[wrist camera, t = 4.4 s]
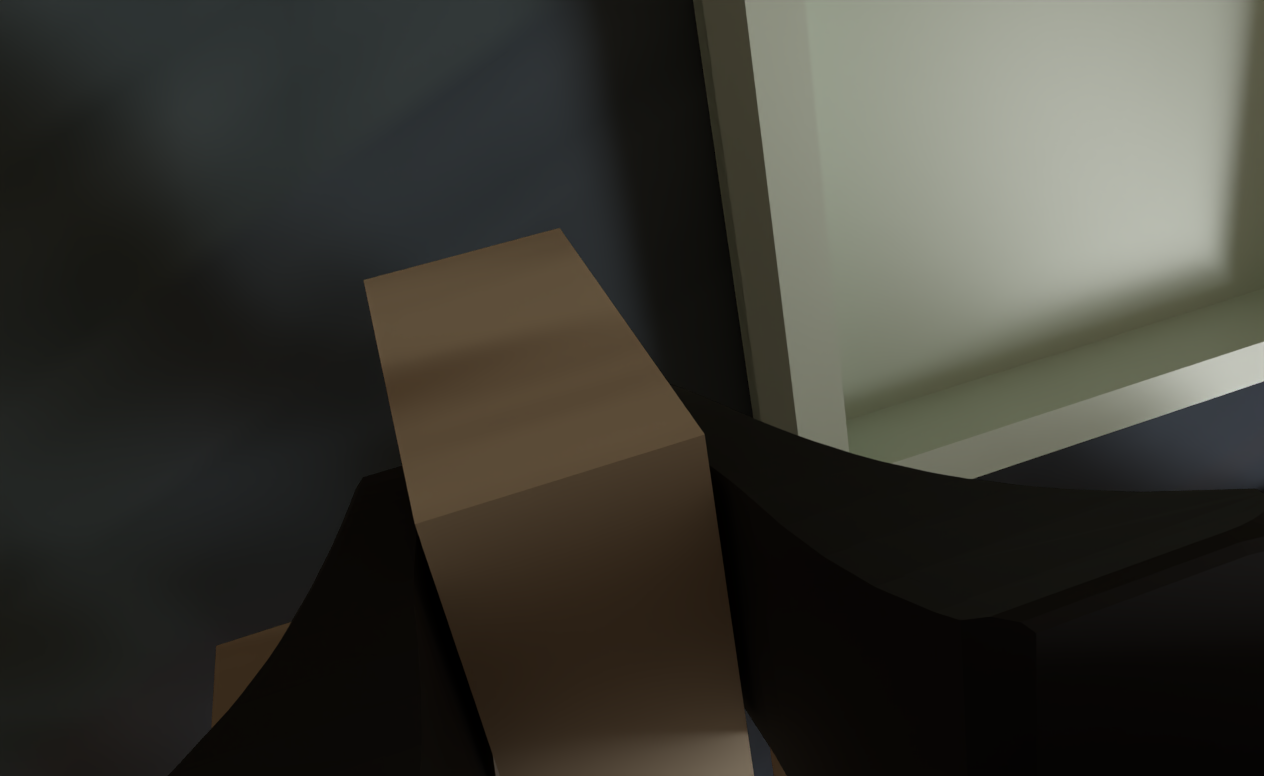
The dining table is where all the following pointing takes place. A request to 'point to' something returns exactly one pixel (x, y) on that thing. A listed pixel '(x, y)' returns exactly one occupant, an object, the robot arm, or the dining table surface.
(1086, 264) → the tray
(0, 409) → the dining table surface
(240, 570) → the dining table surface
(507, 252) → the tan joined block frame
